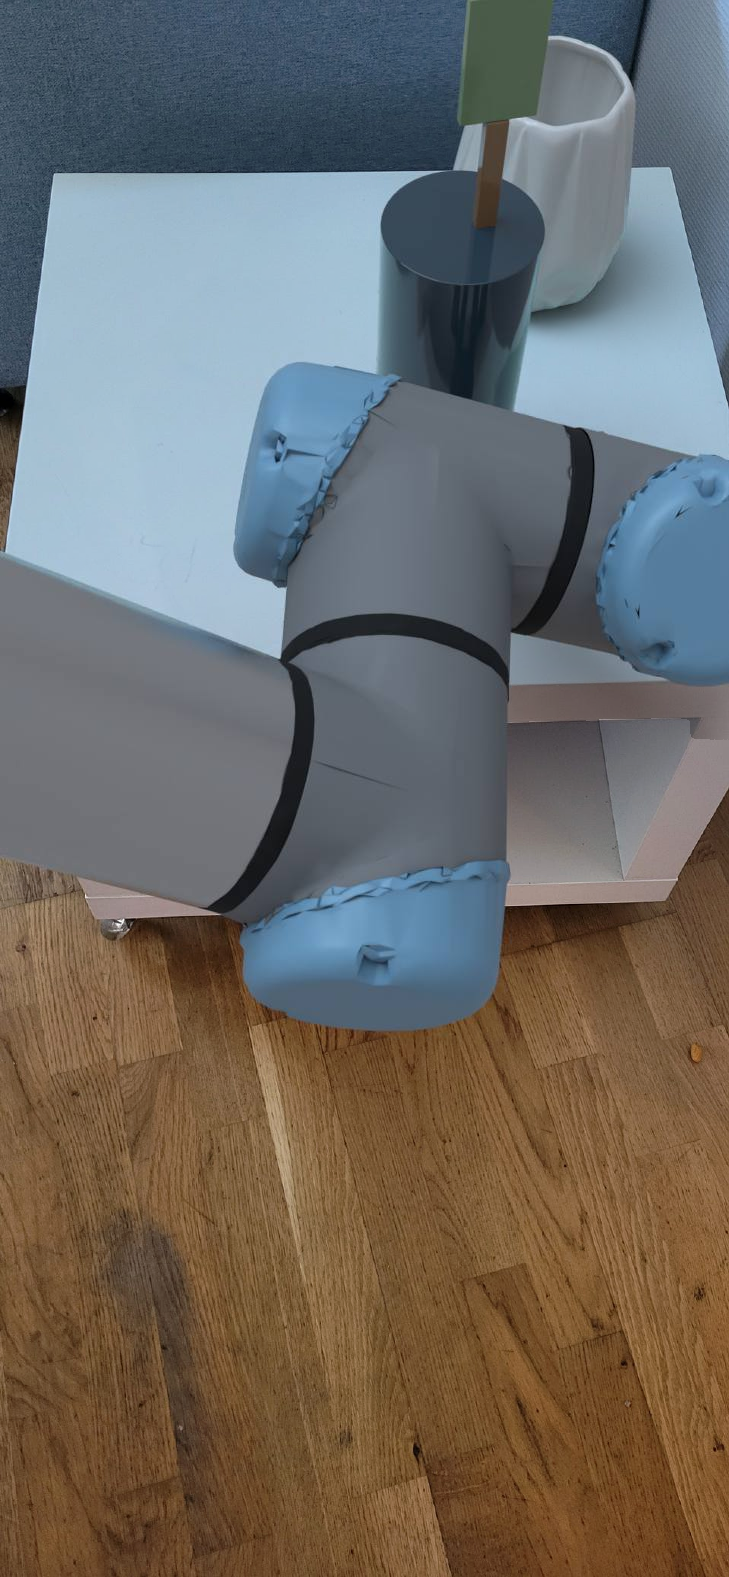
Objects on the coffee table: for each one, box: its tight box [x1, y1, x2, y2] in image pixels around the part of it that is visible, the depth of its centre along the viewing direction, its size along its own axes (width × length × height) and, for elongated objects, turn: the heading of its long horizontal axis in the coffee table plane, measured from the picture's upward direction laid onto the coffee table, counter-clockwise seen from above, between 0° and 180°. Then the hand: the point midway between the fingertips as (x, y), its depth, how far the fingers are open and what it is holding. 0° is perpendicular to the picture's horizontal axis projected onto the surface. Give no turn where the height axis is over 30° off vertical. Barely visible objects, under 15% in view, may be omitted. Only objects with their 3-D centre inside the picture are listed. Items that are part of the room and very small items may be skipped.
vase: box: [452, 35, 637, 313], centre depth 85 cm, size 14×14×15 cm
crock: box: [375, 0, 555, 412], centre depth 67 cm, size 9×9×34 cm
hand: (463, 485), depth 73 cm, fingers closed
